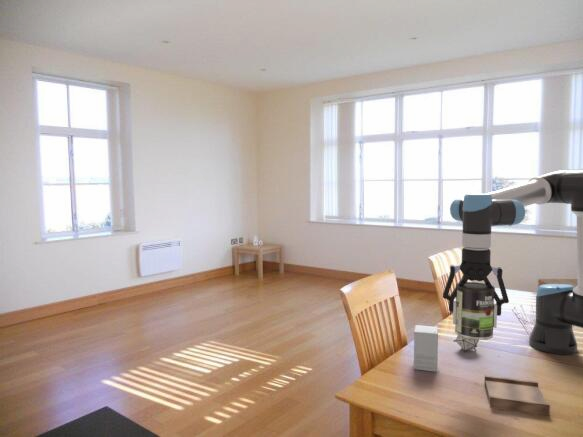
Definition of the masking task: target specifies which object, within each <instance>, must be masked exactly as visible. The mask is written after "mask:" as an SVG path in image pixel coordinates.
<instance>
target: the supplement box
mask: <svg viewBox="0 0 583 437" xmlns="http://www.w3.org/2000/svg"><path fill="white" fill-rule="evenodd" d="M438 330H439V329H438V326H429V325H419V324H415V326H414V331H413V368H414V370H419V371H420V370H421V371H428V372H438V360H439V359H438V357H439V356H438V353H439V352H438V351H439V349H438V348H439V347H438V346H439V341H438V340H439V331H438Z"/></svg>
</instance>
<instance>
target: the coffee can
mask: <svg viewBox="0 0 583 437" xmlns="http://www.w3.org/2000/svg"><path fill="white" fill-rule="evenodd" d="M458 283H459V282H458ZM458 283H456V284H455V287H456V288H457V296H456V298H455V300H456V324H454V325H455V327H454V328H455V329H454V332H455V334H456V335H457V336H458V335H459V336H461V337H464V338H468V339H474V340H479V341H485V340H490V339H492V338H493V337H494V327H493V315H494V303H495V299H494V291H495V292H496V287H495V286H494V285H492V287H493V288H491V289H490V288H488V287H487V286H486V284H485V282H484V283H483V282H474V281H467V282H466V283H465V284H464V286H463V287H460V286H458Z"/></svg>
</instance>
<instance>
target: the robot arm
mask: <svg viewBox="0 0 583 437" xmlns="http://www.w3.org/2000/svg"><path fill="white" fill-rule="evenodd" d="M534 204H536V205H544V204H566V205H570V211H571V212H572V213H573V214H574V215H575V216H576V250H577V251H576V254H577V259H576V260H577V285H576V286H574V285H573V284H564V283H547V284H546V283H545V284H541V285H539V286H538V287H537V288H536V294H535V321H534V322H535V323H534V326H533V328H532V331H531V332H530V335H529V338H528V342H529V345H530V346H531V347H533V348H534V349H536V350H539V351H541V352H545V353H550V354H557V355H573V354H575V353H577V352H578V343H577V342H578V341H577V339H576V336H575V333H574V330H573V326H574V327H578V328H581V329H583V168H578V169H569V168H568V169H560V170H557V171H553V172H549V173H546V174H542V175H539V176H536V177H535V176H534V177H533V178H530V179H529V180H528V181H527V182H524V183H520V184H518V185H517V184H516V185H514V186H513V185H512V186H510V187H507V188H502V189H499V190H495V191H491V192H488V193H487V192H486V193H467V194H464V196H463V197H461V198H459V197H458V198H455V199H454V200H453V201H452V202H451V204H450V206H449V213H450V216H451V217H452V219H453V220H455V221H458V222H462V235H461V236H462V237H461V239H462V240H461V247H463V248H462V249H461V263H460V265H454V264H451V265H450V266H449V275H448V279H447V281H446V284H445V287H444V290H443V292H442V298H443V299H444V300H448V310H449V312H450V313H452V324H453V325H455V324H456V296H457V288H456V286H455V287H454V289H453V290H452V292H451V293H450V291H451V287H452V285H453V281H454V278H455V275H456V274H457V273H458V272H459V270H460V271H461V273H462V274H463V275H462V277H461V278H460V280H459V281H458V286H460V287H463V286H464V284H465V283H466V282H474V281H477V282H484V284H486V286H487V287H488V288H490V289H491V288H493V287H492V286H493V284H491V282H490V280H489V278H488V277H489V275H490V274H491V273H493V275H494V276H495V277H496V279H497V283H498V286H499V290H500V293H501V296H502V297H500V296H499V295H498V293H497V292H496V290H495V291H494V315H493V329H495V328H497V323H498V322H497V320H498V319H497V318H498V316H499V317H500V316H502V306H503V304H508V303H509V302H510V300H509V297H508V293H507V290H506V286H505V283H504V279H503V269H502V267H500V266H499V267H494V266H492V265H491V256H492V255H491V252H492V251H491V249H490V248H491V247H492V227H499V226H501V227H502V226H503V227H504V226H508V227H510V226H511V227H512V226H515V225H518V224H520V223H522V221H523V220H524V218H525V216H526V209H525V207H527V206H532V205H534Z"/></svg>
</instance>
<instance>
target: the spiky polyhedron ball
mask: <svg viewBox="0 0 583 437" xmlns="http://www.w3.org/2000/svg"><path fill="white" fill-rule="evenodd" d="M455 338H456V339H454V340H453V342H456V343H457V344H458V345H459V346H460V347H461V348H462V350H463V353H466V351H470V350H474V351H477V349H476V348H477V347H478V343H479V342H480V340H474V339H468V338H464V337H461V336H459V335H457V336H456V337H455Z"/></svg>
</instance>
